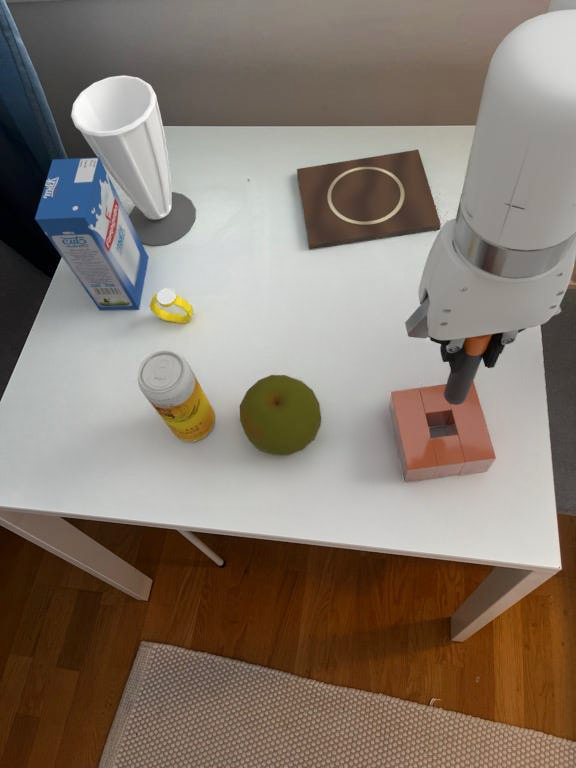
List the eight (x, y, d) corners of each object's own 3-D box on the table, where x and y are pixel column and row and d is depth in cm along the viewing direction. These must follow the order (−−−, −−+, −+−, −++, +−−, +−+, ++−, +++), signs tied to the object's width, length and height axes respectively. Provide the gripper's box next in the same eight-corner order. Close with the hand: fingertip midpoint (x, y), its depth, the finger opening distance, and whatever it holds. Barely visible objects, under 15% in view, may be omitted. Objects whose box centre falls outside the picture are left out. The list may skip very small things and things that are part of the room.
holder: (466, 396, 75) (473, 379, 71) (487, 471, 71) (496, 458, 66) (388, 408, 76) (390, 391, 71) (404, 482, 71) (407, 470, 67)
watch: (154, 324, 86) (141, 301, 80) (160, 308, 87) (148, 285, 81) (193, 329, 84) (182, 306, 79) (198, 313, 86) (188, 290, 80)
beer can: (167, 441, 77) (128, 393, 64) (178, 399, 80) (142, 345, 66) (211, 446, 76) (180, 398, 63) (220, 404, 79) (193, 349, 65)
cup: (168, 256, 91) (118, 145, 72) (113, 230, 94) (51, 118, 75) (210, 206, 95) (173, 88, 75) (155, 183, 98) (107, 65, 79)
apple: (338, 430, 75) (335, 394, 65) (284, 482, 73) (274, 453, 63) (284, 383, 79) (275, 342, 69) (232, 431, 77) (215, 396, 67)
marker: (464, 382, 63) (489, 311, 50) (469, 403, 61) (497, 336, 49) (440, 386, 63) (460, 316, 50) (446, 407, 62) (467, 341, 49)
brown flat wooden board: (417, 155, 95) (418, 148, 94) (439, 229, 88) (441, 223, 87) (297, 174, 96) (296, 167, 95) (309, 249, 89) (308, 243, 87)
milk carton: (110, 258, 92) (52, 159, 74) (148, 256, 91) (99, 156, 73) (99, 311, 88) (34, 219, 70) (139, 310, 87) (83, 217, 69)
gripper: (618, 161, 39) (542, 310, 56) (381, 201, 40) (375, 336, 57) (662, 248, 36) (568, 379, 52) (403, 289, 37) (390, 405, 53)
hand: (468, 356), depth 54 cm, fingers closed on marker, 2 cm apart
